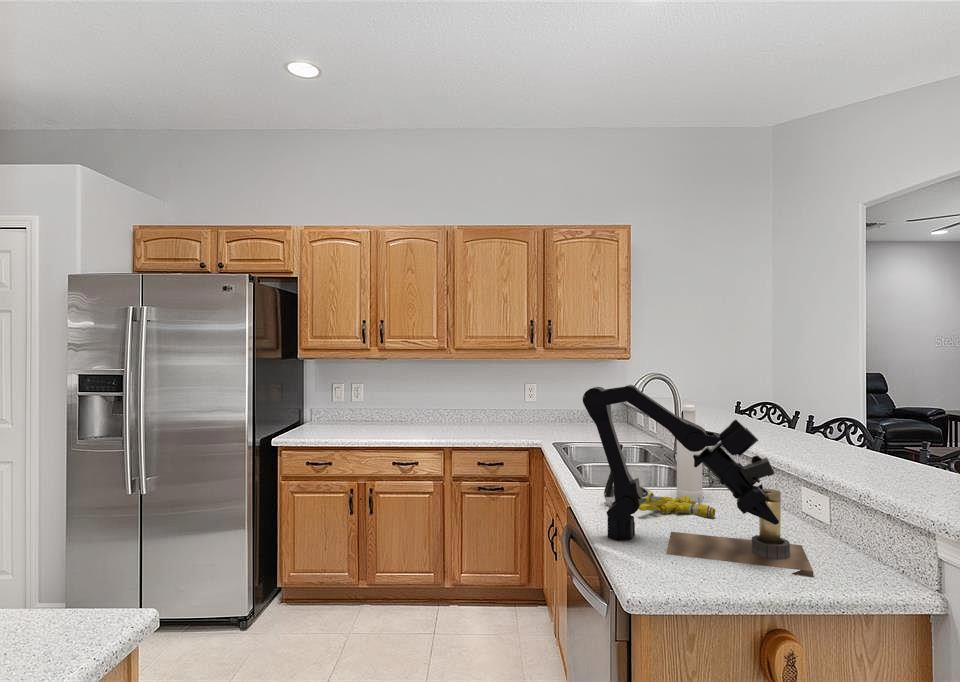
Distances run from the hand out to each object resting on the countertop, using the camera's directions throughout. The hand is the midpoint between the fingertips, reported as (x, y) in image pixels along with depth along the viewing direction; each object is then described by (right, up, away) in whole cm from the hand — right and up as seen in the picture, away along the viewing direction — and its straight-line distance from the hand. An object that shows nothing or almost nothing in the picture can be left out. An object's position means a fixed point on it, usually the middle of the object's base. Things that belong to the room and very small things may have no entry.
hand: (776, 520), depth 140 cm
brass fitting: (-1, -6, +1) cm, 7 cm away
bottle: (-1, -9, +55) cm, 55 cm away
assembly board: (-8, -9, +3) cm, 13 cm away
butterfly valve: (-22, -10, +49) cm, 55 cm away
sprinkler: (-11, -10, +38) cm, 40 cm away
